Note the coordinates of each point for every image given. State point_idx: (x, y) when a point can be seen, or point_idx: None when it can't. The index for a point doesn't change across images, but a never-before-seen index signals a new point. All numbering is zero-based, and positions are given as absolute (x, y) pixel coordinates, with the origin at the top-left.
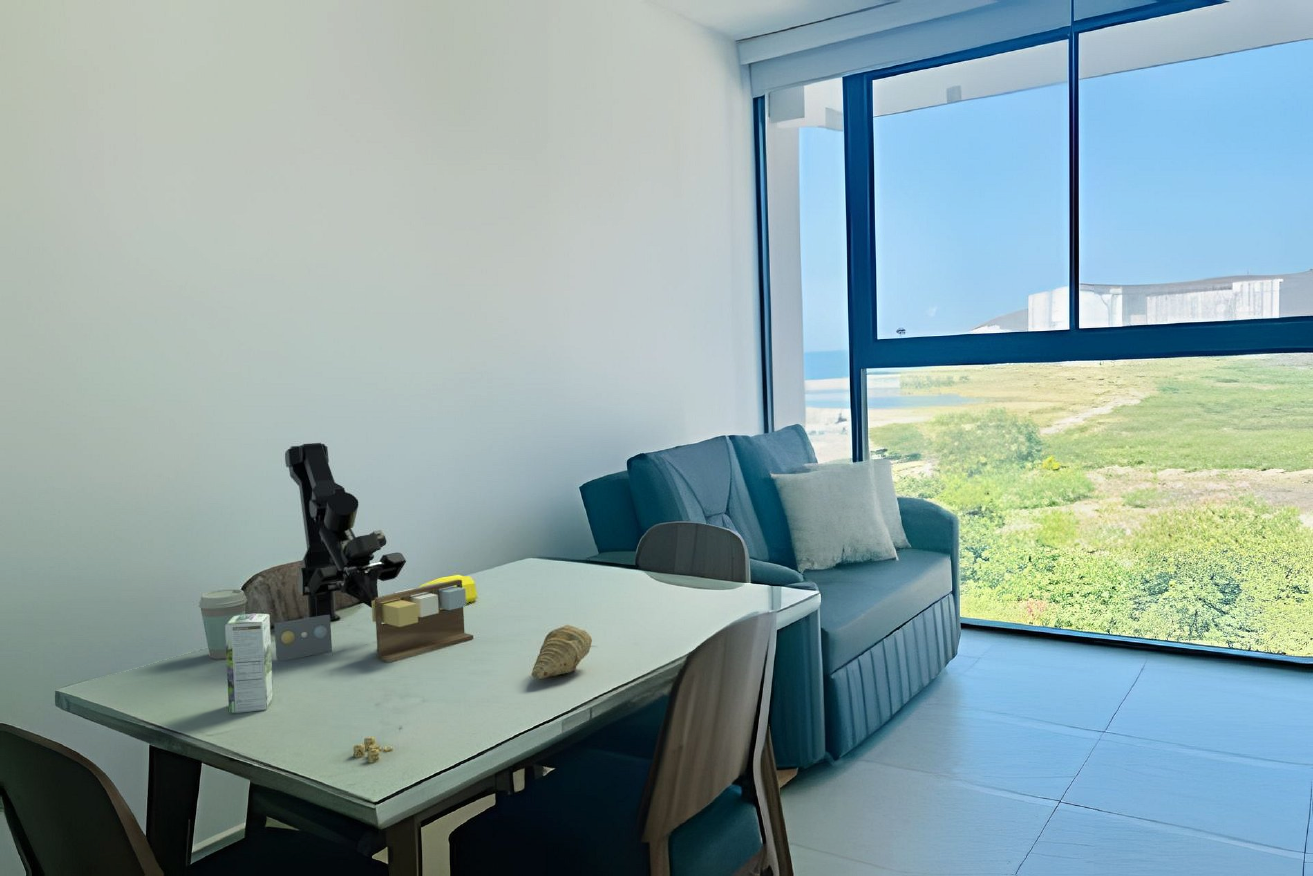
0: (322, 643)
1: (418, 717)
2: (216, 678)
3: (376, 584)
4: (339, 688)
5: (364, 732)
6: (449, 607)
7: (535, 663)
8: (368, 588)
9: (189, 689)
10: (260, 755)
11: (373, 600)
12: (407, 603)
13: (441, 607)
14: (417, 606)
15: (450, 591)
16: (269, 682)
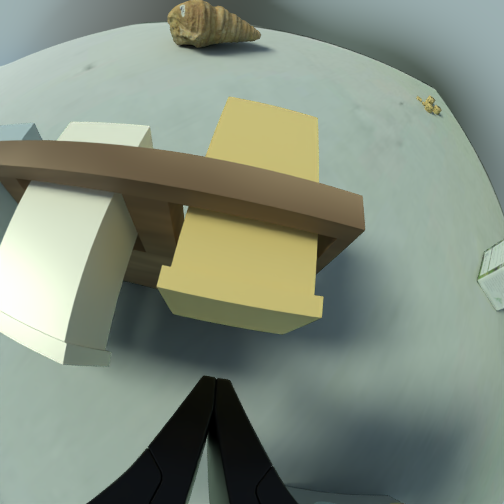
0: (311, 499)
1: (381, 98)
2: (469, 456)
3: (126, 480)
4: (416, 228)
5: (426, 124)
6: None
7: (249, 29)
8: (231, 482)
9: (496, 426)
10: (483, 172)
11: (229, 403)
12: (243, 122)
13: None
14: None
15: (21, 127)
16: (501, 252)
